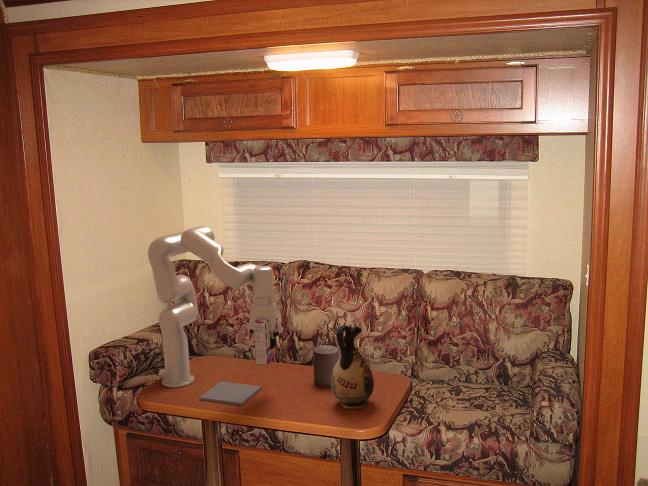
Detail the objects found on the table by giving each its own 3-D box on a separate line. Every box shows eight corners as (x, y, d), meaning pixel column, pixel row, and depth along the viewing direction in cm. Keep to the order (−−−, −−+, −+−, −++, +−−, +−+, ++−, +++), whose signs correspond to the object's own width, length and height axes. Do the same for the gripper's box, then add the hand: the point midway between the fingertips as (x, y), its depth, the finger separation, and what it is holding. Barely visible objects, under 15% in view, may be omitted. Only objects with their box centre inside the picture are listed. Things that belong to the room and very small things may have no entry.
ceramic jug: (348, 391, 231) (346, 315, 227) (382, 401, 222) (381, 321, 217) (320, 407, 219) (316, 326, 214) (354, 418, 209) (352, 334, 204)
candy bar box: (263, 354, 233) (262, 312, 231) (276, 355, 232) (275, 313, 230) (254, 364, 223) (253, 321, 220) (268, 365, 222) (266, 322, 219)
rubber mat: (199, 399, 229) (199, 397, 229) (221, 383, 244) (221, 381, 244) (242, 405, 223) (241, 403, 222) (261, 388, 237) (261, 386, 237)
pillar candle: (310, 385, 239) (309, 348, 236) (319, 376, 248) (318, 340, 245) (333, 388, 235) (332, 351, 233) (342, 379, 244) (341, 343, 242)
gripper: (237, 300, 223) (240, 348, 226) (280, 304, 217) (282, 353, 220) (247, 295, 230) (249, 341, 233) (289, 299, 224) (290, 346, 227)
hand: (265, 346), depth 227 cm, fingers closed on candy bar box, 5 cm apart
